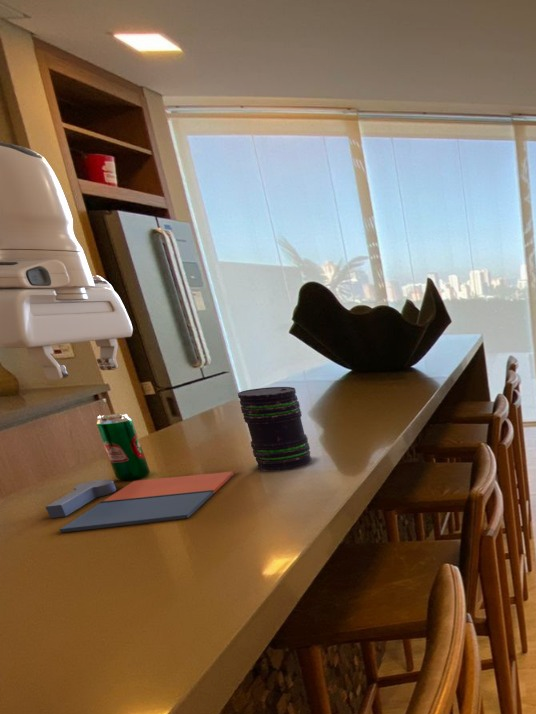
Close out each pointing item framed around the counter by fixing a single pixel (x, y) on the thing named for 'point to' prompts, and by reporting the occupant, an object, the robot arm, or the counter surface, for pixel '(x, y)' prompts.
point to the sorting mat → (151, 502)
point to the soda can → (122, 446)
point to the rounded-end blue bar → (80, 497)
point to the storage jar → (275, 428)
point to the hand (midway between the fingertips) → (85, 374)
